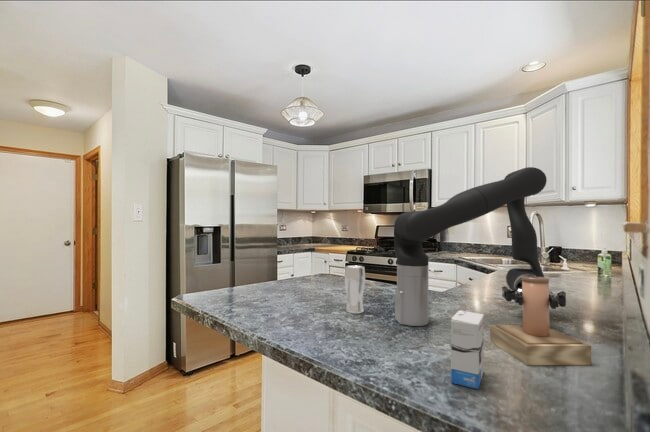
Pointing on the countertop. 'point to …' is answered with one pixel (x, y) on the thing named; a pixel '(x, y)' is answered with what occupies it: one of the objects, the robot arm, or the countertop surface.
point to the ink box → (467, 349)
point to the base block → (540, 346)
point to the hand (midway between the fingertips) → (537, 302)
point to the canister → (535, 305)
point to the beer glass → (354, 288)
